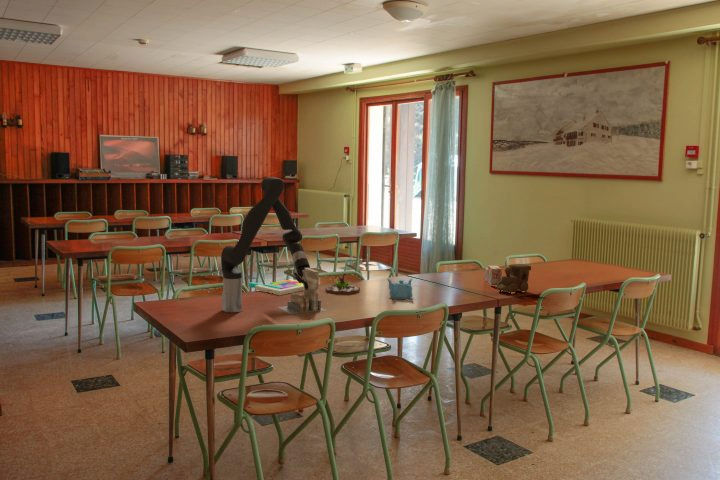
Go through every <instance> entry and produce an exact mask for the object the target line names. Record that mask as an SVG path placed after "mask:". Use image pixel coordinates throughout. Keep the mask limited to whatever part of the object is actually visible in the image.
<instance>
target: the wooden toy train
mask: <svg viewBox="0 0 720 480" xmlns="http://www.w3.org/2000/svg"><path fill="white" fill-rule="evenodd" d="M530 271H532V266H531V265H529V264H524V263H513V264H512V263H511V264H509V265H508V266H506V267H505V269H504V273H505V275H504V276H502V275H501V281H500V282H499V283H498V284H497V287H496V289H497V290H503V291H502V292H504V291H505V292H508V293H509V292H510V293H511V292H517V291H520V292H521V291H526V292H527V291H528V290H529V283H528V282H529V276H530Z"/></svg>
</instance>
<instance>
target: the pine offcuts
mask: <svg viewBox="0 0 720 480" xmlns="http://www.w3.org/2000/svg"><path fill="white" fill-rule="evenodd" d="M290 302H292V303H294V304H296V305H298V306H300V312H303V311H309V298H307V297H305V296H304V294H303V295H302V294H301V293H299V294H298V293H297V294H296V293H295V292H294V293H290Z"/></svg>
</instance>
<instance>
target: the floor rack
mask: <svg viewBox="0 0 720 480" xmlns="http://www.w3.org/2000/svg"><path fill="white" fill-rule="evenodd" d="M313 304H314V301H312V300H310V299H309V311H303V312H300V306H298V305H296V304H294V303H292V302H291V300H288V301H287V305H286V306H278V309H281V310H282V311H284V312H286V313H288V314H289V315H292V314H294V315H295V314H302V313H303V314H304V313H313V312H315V313H316V312H323V311H326V309H324V308H322V300H321V299H319V298H318V310H313Z"/></svg>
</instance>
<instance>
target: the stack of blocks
mask: <svg viewBox="0 0 720 480" xmlns="http://www.w3.org/2000/svg"><path fill="white" fill-rule="evenodd" d="M483 272H484V275H483V276H484V278H483V281H484V280H486V281H487V282H488V283H489V284H490V285H497V284H498V283H499V282H500V281H501V279H502V274H503V273H502V272H503V269H502V268H501V267H500V266H498V265H489V264H488V265H487V267H484V271H483Z"/></svg>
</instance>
